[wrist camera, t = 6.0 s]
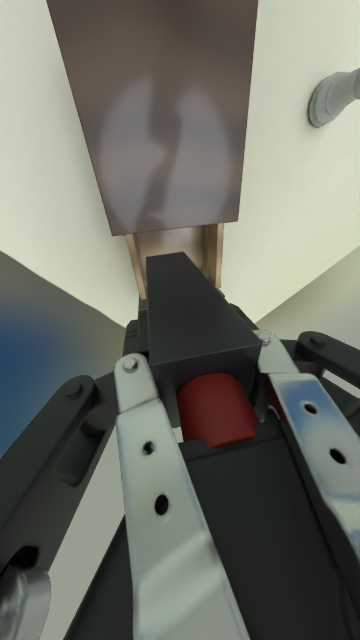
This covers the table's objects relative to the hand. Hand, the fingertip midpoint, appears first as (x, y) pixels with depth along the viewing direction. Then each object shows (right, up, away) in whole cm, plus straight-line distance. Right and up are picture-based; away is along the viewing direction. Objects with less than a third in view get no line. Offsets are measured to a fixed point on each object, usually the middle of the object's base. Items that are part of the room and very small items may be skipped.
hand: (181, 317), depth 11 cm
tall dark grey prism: (-1, +4, +6) cm, 8 cm away
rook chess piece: (+19, +29, +13) cm, 38 cm away
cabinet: (-3, +22, +13) cm, 26 cm away
